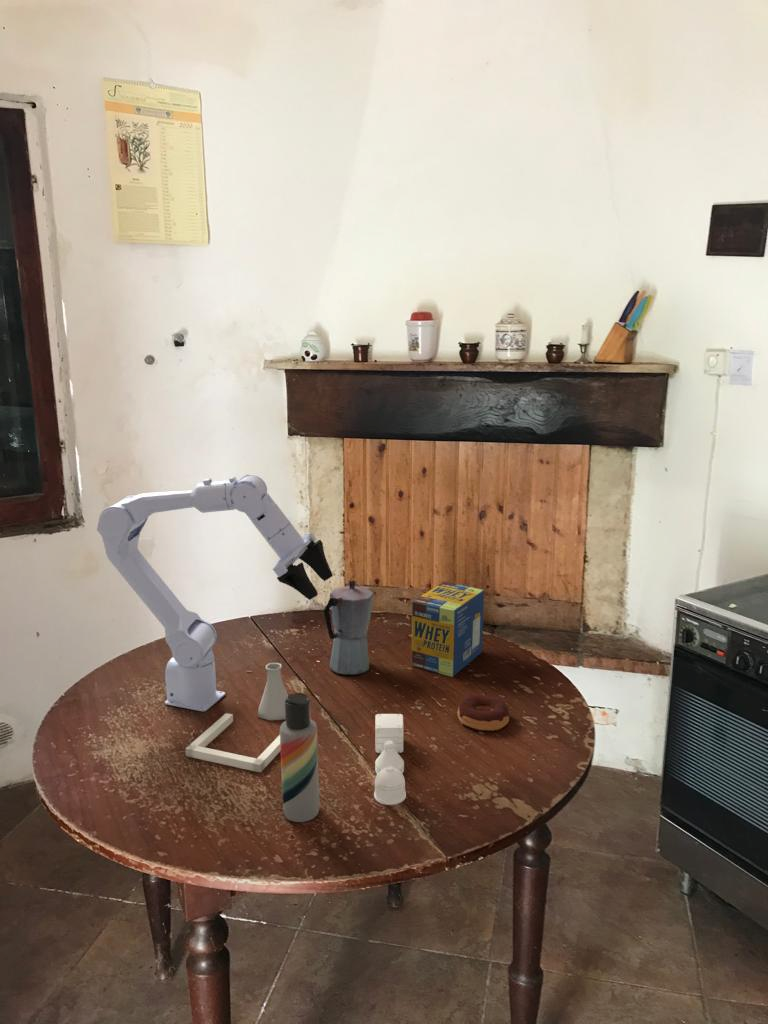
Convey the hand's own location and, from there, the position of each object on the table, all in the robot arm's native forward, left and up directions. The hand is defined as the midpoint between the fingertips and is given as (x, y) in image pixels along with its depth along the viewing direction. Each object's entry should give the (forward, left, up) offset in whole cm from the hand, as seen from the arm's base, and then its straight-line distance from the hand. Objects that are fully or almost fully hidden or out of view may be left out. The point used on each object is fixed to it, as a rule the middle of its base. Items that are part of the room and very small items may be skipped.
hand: (321, 587), depth 154 cm
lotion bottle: (+11, -33, -25) cm, 43 cm away
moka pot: (-2, +17, -25) cm, 31 cm away
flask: (-8, -6, -25) cm, 27 cm away
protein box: (+17, +29, -25) cm, 42 cm away
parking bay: (-8, -18, -25) cm, 32 cm away
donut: (+31, +5, -26) cm, 40 cm away
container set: (+20, -17, -26) cm, 36 cm away
